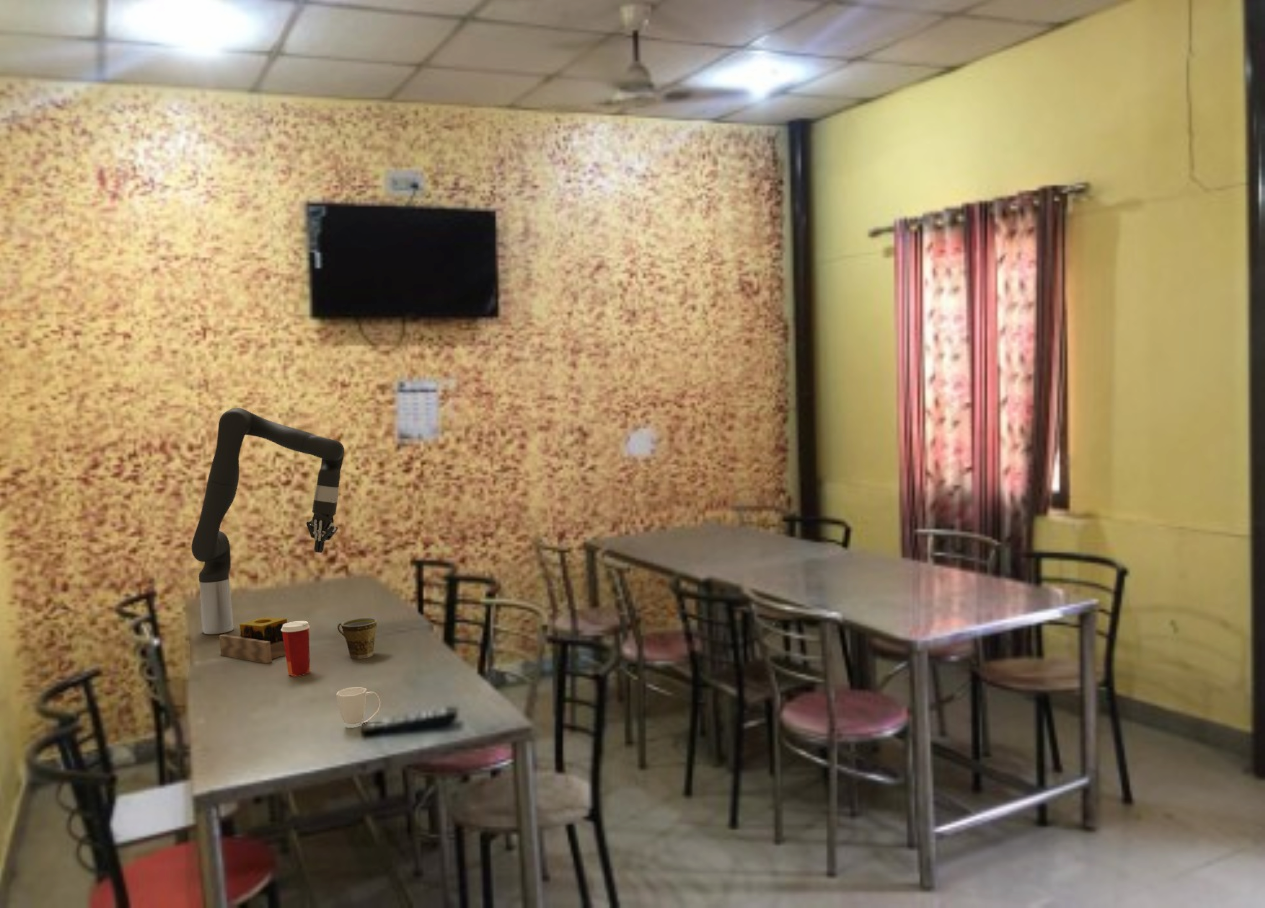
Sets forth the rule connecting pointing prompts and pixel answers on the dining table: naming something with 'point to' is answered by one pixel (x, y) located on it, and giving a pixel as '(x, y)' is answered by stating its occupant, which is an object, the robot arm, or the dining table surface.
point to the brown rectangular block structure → (250, 648)
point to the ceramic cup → (359, 636)
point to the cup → (354, 704)
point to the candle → (263, 629)
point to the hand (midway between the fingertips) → (318, 552)
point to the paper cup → (297, 647)
